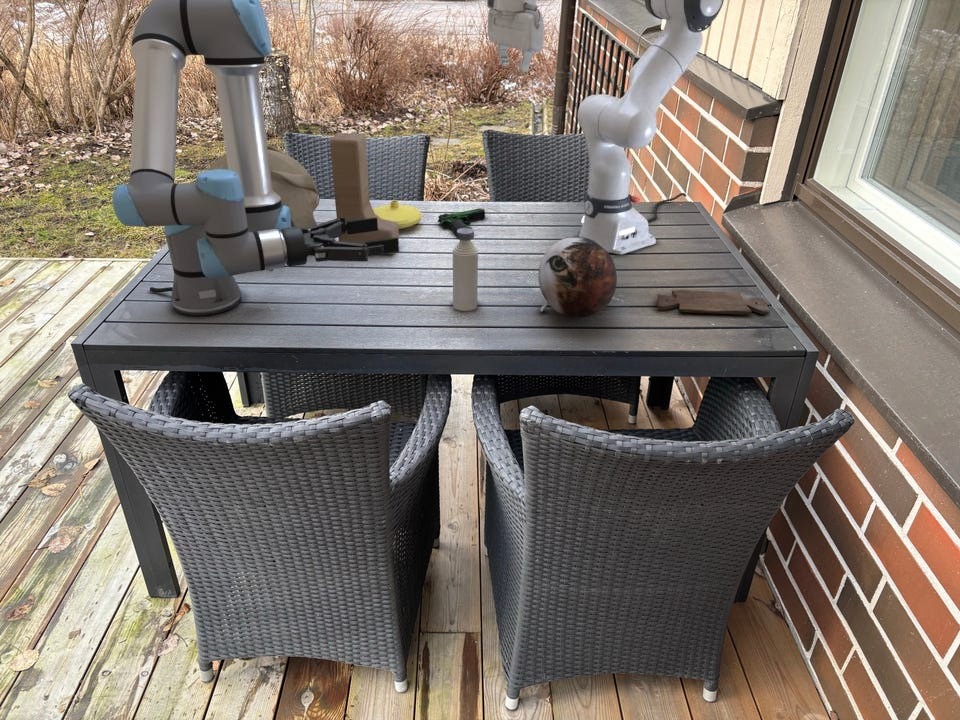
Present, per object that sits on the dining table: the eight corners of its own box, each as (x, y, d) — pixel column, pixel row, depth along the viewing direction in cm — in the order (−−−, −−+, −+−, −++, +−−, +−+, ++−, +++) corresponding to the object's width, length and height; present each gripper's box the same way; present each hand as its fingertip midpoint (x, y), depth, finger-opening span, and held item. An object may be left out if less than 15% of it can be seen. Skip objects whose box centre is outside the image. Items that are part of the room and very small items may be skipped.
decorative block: (393, 255, 191) (387, 142, 176) (339, 251, 193) (328, 139, 178) (399, 245, 198) (394, 134, 183) (347, 241, 200) (337, 132, 184)
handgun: (453, 229, 202) (431, 211, 213) (453, 239, 203) (431, 221, 214) (503, 222, 208) (480, 205, 219) (502, 231, 210) (479, 214, 221)
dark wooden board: (652, 295, 173) (658, 314, 165) (653, 289, 172) (659, 307, 164) (760, 298, 172) (772, 317, 163) (761, 291, 171) (774, 310, 162)
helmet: (337, 253, 194) (330, 140, 179) (228, 274, 179) (210, 153, 164) (298, 224, 213) (288, 120, 198) (196, 241, 198) (178, 130, 183)
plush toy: (515, 268, 172) (574, 208, 164) (568, 314, 177) (628, 258, 168) (511, 307, 153) (577, 241, 144) (571, 357, 157) (638, 296, 149)
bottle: (477, 311, 164) (478, 237, 155) (452, 311, 164) (451, 236, 155) (477, 300, 169) (478, 228, 160) (453, 300, 169) (452, 227, 160)
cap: (473, 240, 156) (473, 234, 156) (456, 240, 156) (456, 233, 156) (474, 234, 160) (474, 227, 159) (457, 234, 160) (456, 227, 159)
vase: (376, 214, 219) (375, 191, 216) (426, 217, 218) (426, 194, 214) (362, 232, 206) (360, 208, 202) (415, 235, 204) (415, 212, 201)
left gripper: (273, 245, 151) (370, 232, 159) (299, 289, 131) (408, 272, 139) (268, 211, 147) (368, 199, 155) (294, 250, 128) (406, 235, 135)
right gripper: (553, 5, 152) (549, 74, 159) (507, -2, 167) (505, 61, 174) (527, 5, 149) (524, 76, 156) (483, -2, 165) (482, 62, 172)
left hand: (387, 233), depth 147 cm, fingers open, 13 cm apart
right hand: (513, 68), depth 165 cm, fingers open, 8 cm apart
